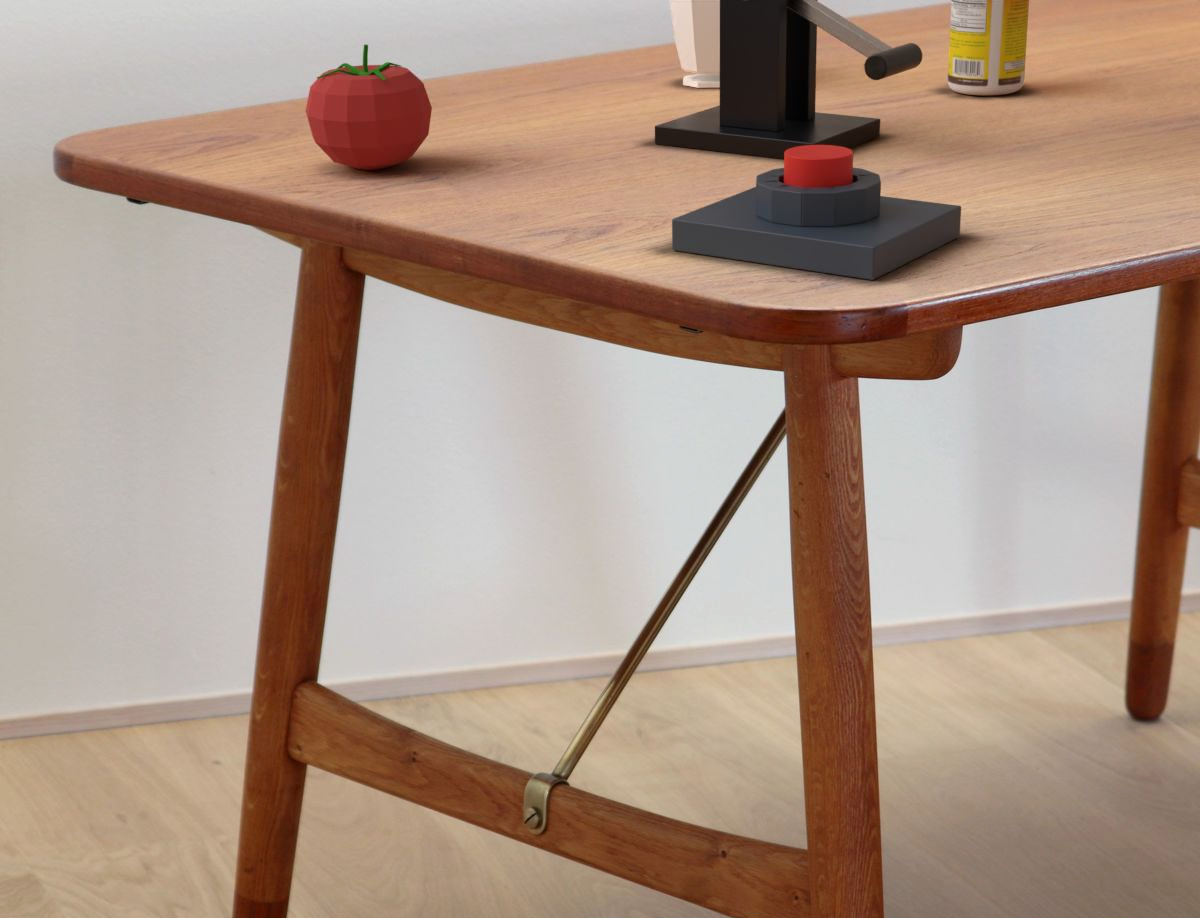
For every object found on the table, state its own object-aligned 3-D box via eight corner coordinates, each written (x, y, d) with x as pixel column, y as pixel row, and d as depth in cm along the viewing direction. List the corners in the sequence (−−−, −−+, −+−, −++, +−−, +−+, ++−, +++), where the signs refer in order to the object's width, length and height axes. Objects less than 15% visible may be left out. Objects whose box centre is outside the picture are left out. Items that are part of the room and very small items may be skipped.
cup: (648, 87, 146) (647, -23, 143) (704, 66, 154) (704, -39, 151) (733, 93, 143) (733, -20, 140) (785, 71, 151) (787, -36, 148)
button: (864, 182, 102) (865, 148, 101) (831, 195, 99) (832, 161, 99) (804, 174, 104) (805, 142, 103) (771, 188, 101) (771, 154, 101)
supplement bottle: (1019, 83, 144) (1028, -61, 140) (1027, 97, 139) (1037, -52, 135) (943, 84, 145) (951, -59, 140) (949, 97, 140) (956, -51, 135)
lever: (913, 78, 123) (929, 44, 121) (877, 91, 119) (893, 56, 118) (765, -15, 126) (778, -49, 125) (725, -6, 123) (738, -41, 121)
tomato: (332, 186, 118) (321, 58, 115) (294, 163, 125) (283, 41, 122) (453, 171, 121) (446, 46, 118) (410, 149, 128) (402, 30, 125)
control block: (960, 237, 103) (963, 171, 102) (873, 280, 96) (875, 211, 95) (767, 211, 110) (767, 149, 108) (671, 250, 102) (671, 184, 101)
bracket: (880, 136, 128) (886, -50, 123) (813, 162, 121) (817, -34, 116) (725, 120, 134) (726, -58, 129) (654, 144, 128) (652, -43, 123)
